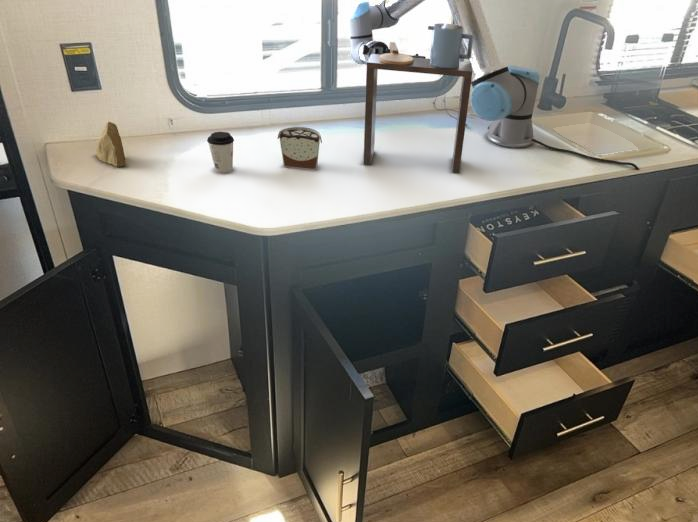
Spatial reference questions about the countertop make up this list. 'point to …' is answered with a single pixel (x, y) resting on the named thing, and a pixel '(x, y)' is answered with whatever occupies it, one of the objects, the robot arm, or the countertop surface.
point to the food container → (300, 147)
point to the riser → (418, 67)
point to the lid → (396, 56)
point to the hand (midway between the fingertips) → (404, 56)
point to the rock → (111, 146)
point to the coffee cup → (221, 151)
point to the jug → (448, 45)
